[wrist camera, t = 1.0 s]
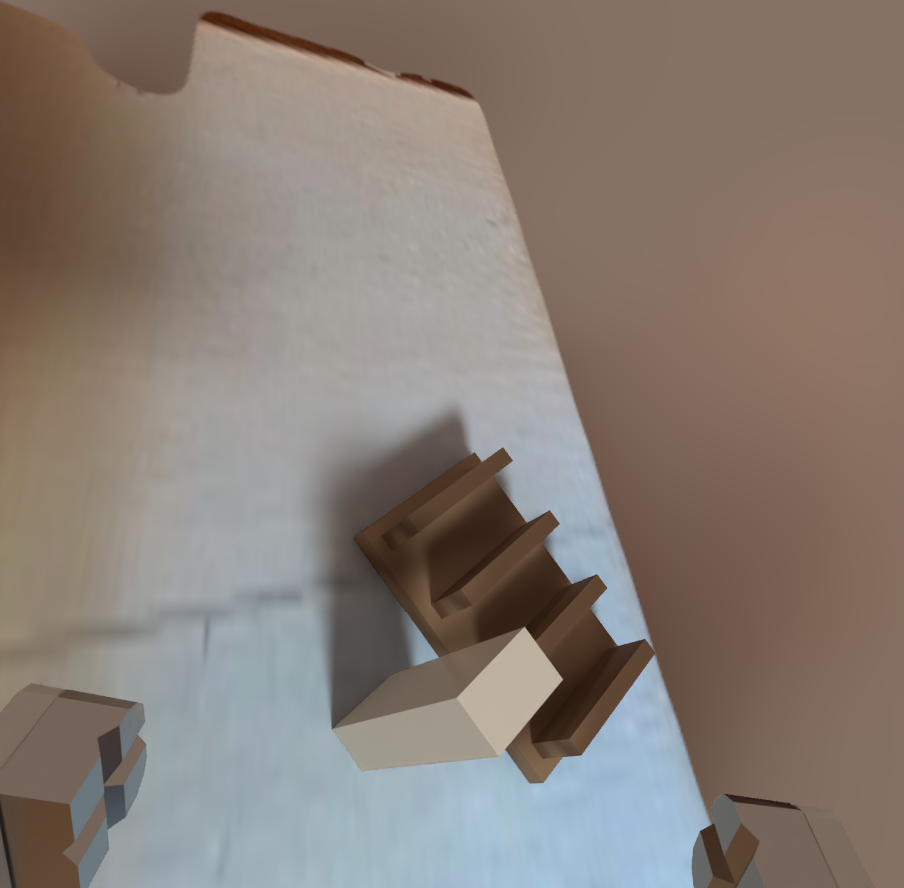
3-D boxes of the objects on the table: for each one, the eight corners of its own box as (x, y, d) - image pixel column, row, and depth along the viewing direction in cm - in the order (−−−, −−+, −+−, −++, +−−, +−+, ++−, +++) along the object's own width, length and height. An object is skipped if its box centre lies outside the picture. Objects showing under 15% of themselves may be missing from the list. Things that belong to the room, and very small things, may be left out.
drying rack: (353, 538, 46) (387, 511, 42) (465, 460, 54) (502, 430, 49) (530, 783, 45) (582, 781, 41) (618, 667, 53) (670, 655, 48)
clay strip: (332, 729, 40) (456, 697, 29) (391, 674, 43) (524, 626, 32) (361, 771, 40) (498, 756, 28) (418, 713, 43) (562, 679, 32)
